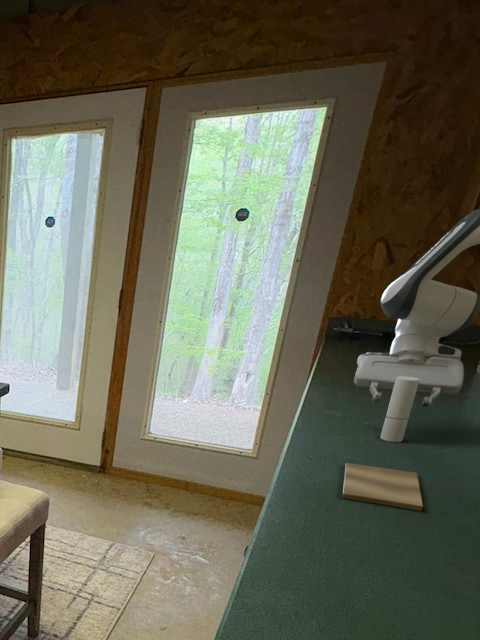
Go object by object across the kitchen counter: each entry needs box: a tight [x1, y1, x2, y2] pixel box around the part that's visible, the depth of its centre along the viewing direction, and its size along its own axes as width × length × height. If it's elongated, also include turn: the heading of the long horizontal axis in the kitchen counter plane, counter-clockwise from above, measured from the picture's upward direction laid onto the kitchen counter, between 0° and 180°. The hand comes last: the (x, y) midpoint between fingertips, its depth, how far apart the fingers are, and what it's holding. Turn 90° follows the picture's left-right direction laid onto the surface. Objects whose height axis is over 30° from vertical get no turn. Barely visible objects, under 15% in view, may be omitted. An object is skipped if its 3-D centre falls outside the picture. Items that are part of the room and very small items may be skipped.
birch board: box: [341, 462, 424, 512], centre depth 125 cm, size 20×12×1 cm, turn 144°
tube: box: [379, 376, 420, 443], centre depth 149 cm, size 4×4×15 cm
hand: (400, 402), depth 149 cm, fingers open, 8 cm apart
